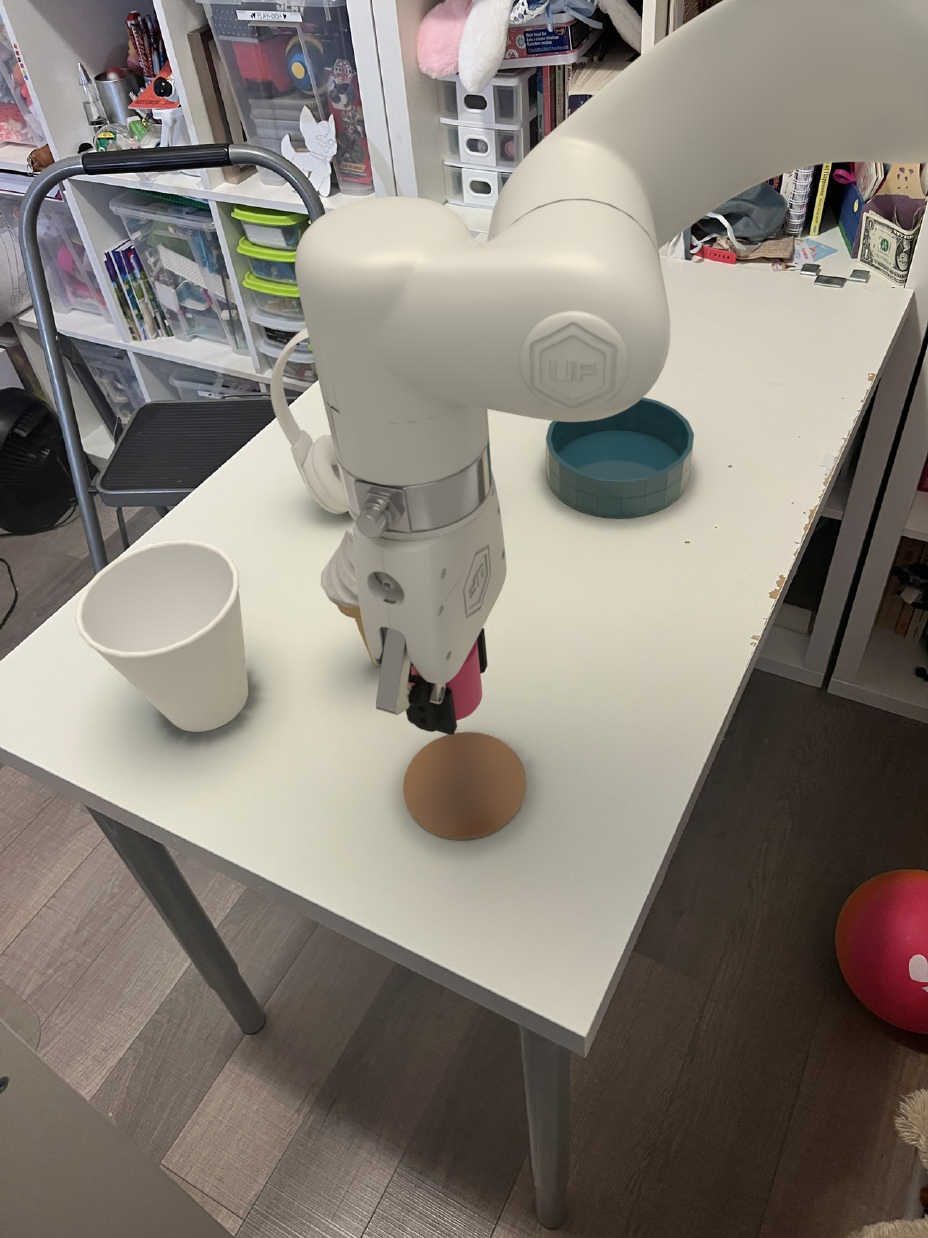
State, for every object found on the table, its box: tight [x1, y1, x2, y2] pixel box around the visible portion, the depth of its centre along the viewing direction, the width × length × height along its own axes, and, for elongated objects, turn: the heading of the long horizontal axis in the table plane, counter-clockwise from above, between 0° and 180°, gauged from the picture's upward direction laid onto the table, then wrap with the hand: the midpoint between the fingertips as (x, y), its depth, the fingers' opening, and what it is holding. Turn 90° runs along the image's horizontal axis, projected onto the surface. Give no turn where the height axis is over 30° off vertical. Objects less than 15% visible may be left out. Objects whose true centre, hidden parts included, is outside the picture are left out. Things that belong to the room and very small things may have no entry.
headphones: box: [269, 327, 349, 515], centre depth 81 cm, size 7×18×20 cm, turn 82°
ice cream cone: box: [320, 529, 379, 668], centre depth 69 cm, size 6×6×15 cm
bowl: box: [545, 396, 695, 519], centre depth 87 cm, size 14×14×4 cm
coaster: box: [403, 731, 527, 841], centre depth 65 cm, size 9×9×1 cm
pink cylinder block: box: [411, 639, 483, 722], centre depth 56 cm, size 4×4×5 cm
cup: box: [74, 539, 249, 733], centre depth 68 cm, size 12×12×12 cm
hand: (448, 693), depth 57 cm, fingers closed on pink cylinder block, 4 cm apart
